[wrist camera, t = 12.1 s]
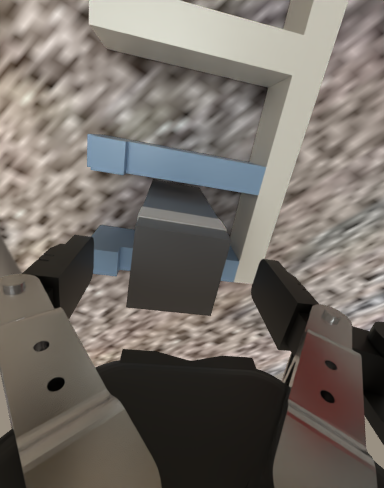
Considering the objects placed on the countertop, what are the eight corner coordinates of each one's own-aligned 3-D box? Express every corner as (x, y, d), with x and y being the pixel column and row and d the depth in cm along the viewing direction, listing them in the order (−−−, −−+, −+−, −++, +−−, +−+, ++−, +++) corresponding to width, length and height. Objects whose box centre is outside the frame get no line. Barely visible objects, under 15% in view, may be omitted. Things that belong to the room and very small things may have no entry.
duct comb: (342, -80, 15) (416, -173, 11) (242, 262, 25) (259, 291, 20) (113, -164, 13) (84, -323, 9) (99, 245, 22) (81, 272, 18)
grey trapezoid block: (199, 187, 21) (233, 239, 10) (190, 230, 23) (211, 316, 12) (152, 178, 21) (134, 224, 10) (146, 223, 22) (125, 308, 11)
